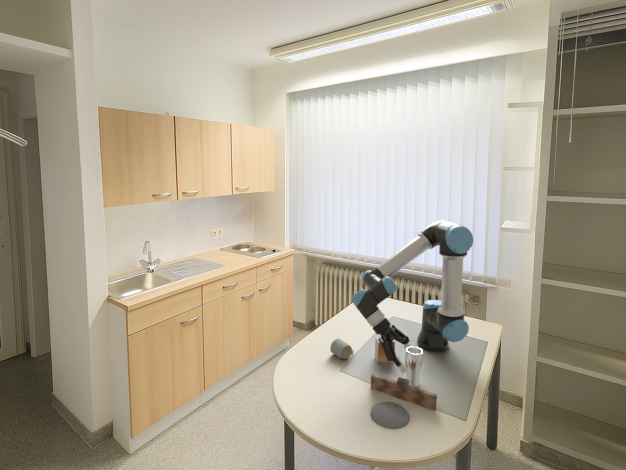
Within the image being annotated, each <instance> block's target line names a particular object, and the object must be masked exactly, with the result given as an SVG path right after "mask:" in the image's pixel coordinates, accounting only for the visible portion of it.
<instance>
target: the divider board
mask: <svg viewBox="0 0 626 470" xmlns="http://www.w3.org/2000/svg"><path fill="white" fill-rule="evenodd" d="M370 389H371V390H373V391H376V392H379V393H381V394H384V395H388V396H390V397H393V398H396V399H399V400H402V401H404V402H405V401H406V402H408V403H410V404H413V405H416V406H420V407H421V408H426V409H428V410H430V411H433V412H436V409H437V404H438V403H437V401H438V394H436V393H434V392H430V391H427V390H425V389H421V388H419V387H412V386H409V380H407V379H406V378H404V377H400V376H399V377H398V378H397V379H396V380H393V379H391V378H388V377H383V376H381V375H379V374H374V373H372V374H371V375H370Z"/></svg>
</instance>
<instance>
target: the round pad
mask: <svg viewBox="0 0 626 470" xmlns="http://www.w3.org/2000/svg"><path fill="white" fill-rule="evenodd" d="M370 417H371V418H372V421H374V422H375V423H376V424H378V425H379V426H381V427H384V428H388V429H400V428H403V427H405V426H406V425H408V423H409V422H410V413H409V411H408V410H407V408H406V407H404V406H403V405H401V404H399V403H396V402H394V401H388V400H387V401H379V402H376V403H375V404H373V405H372V407H371V408H370Z"/></svg>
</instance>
